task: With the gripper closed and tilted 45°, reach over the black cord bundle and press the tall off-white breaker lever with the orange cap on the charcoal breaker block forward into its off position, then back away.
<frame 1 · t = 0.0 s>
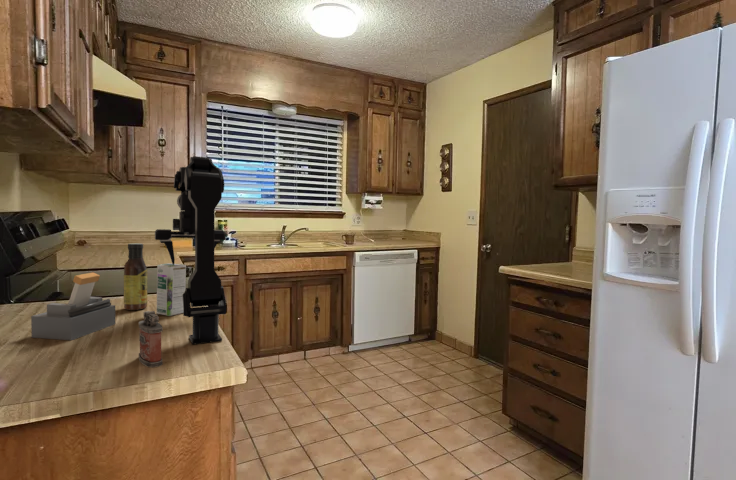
hand: (190, 263, 121), 15 cm above the countertop, tool pointing down, fingers open, 9 cm apart
breaker block: (76, 330, 101), on the countertop
sauce bottle: (135, 309, 124), on the countertop
breaker lever: (81, 292, 100), point 9 cm above the countertop, hinge at -20.0°
syrup box: (171, 313, 120), on the countertop
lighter: (150, 361, 82), on the countertop
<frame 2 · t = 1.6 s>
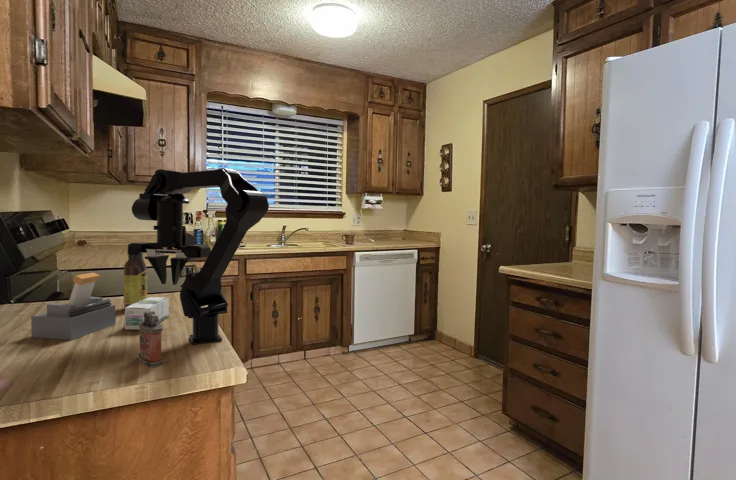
hand: (169, 284, 101), 12 cm above the countertop, tool pointing down, fingers open, 3 cm apart
syrup box: (158, 306, 116), point 3 cm above the countertop
everything else where it was.
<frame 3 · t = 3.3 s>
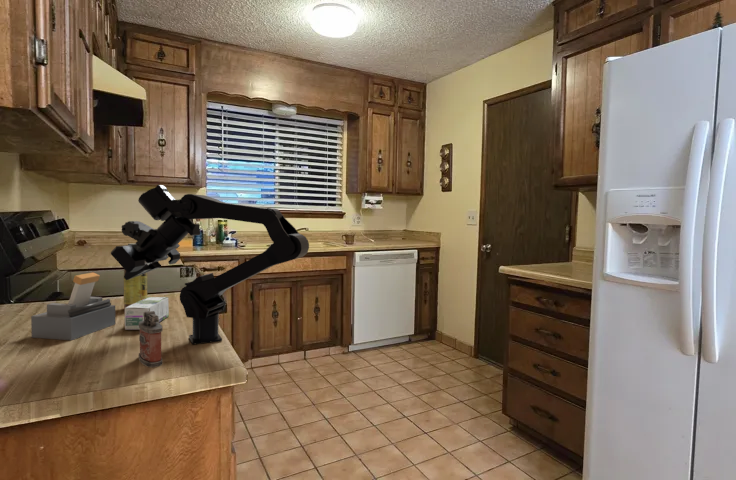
hand: (125, 278, 99), 14 cm above the countertop, tool tilted 45°, fingers closed
nothing on the countertop moved.
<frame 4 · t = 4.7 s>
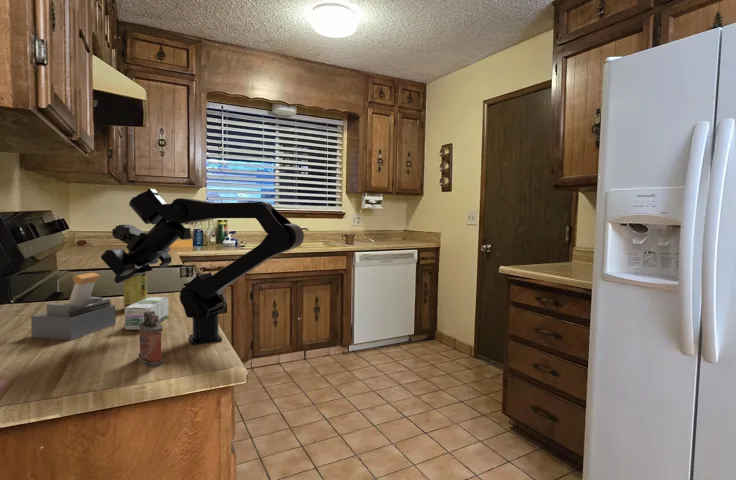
hand: (116, 281, 99), 13 cm above the countertop, tool tilted 45°, fingers closed
nothing on the countertop moved.
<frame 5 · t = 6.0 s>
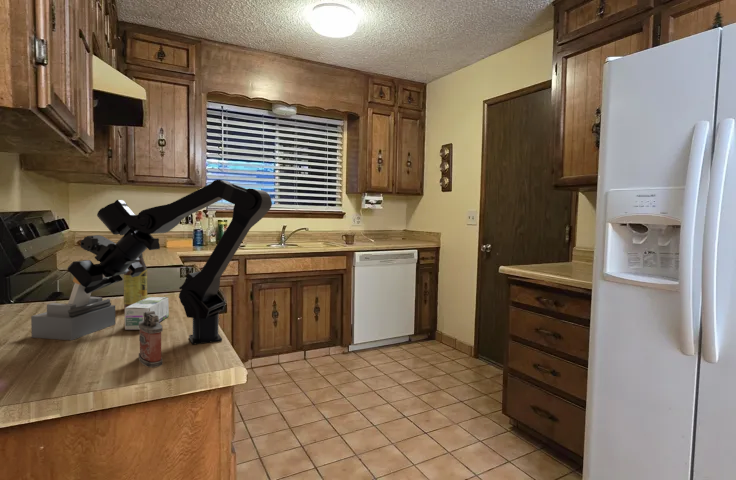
hand: (86, 292, 100), 10 cm above the countertop, tool tilted 45°, fingers closed, pressing on breaker lever
breaker lever: (81, 292, 100), point 9 cm above the countertop, hinge at -19.4°, touching gripper
everything else where it was.
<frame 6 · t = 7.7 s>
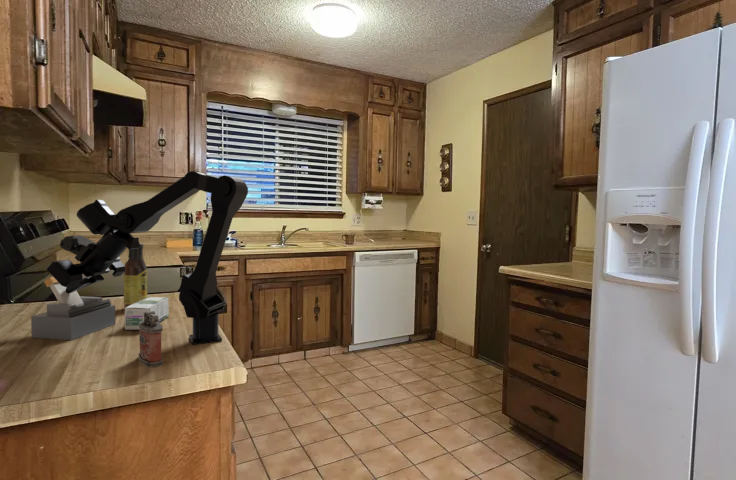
hand: (67, 292, 100), 9 cm above the countertop, tool tilted 45°, fingers closed, pressing on breaker lever
breaker lever: (66, 293, 100), point 9 cm above the countertop, hinge at 32.3°, touching breaker block, gripper
everything else where it was.
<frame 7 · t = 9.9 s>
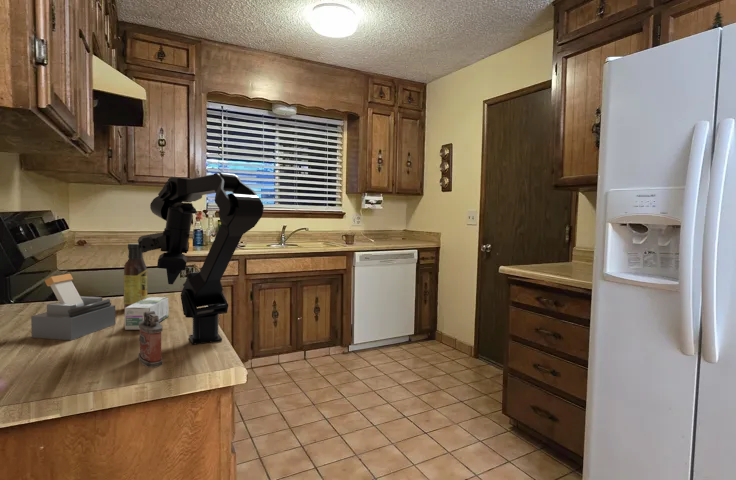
hand: (170, 283, 107), 11 cm above the countertop, tool pointing down, fingers closed
breaker lever: (66, 293, 100), point 9 cm above the countertop, hinge at 30.8°, touching breaker block
everything else where it was.
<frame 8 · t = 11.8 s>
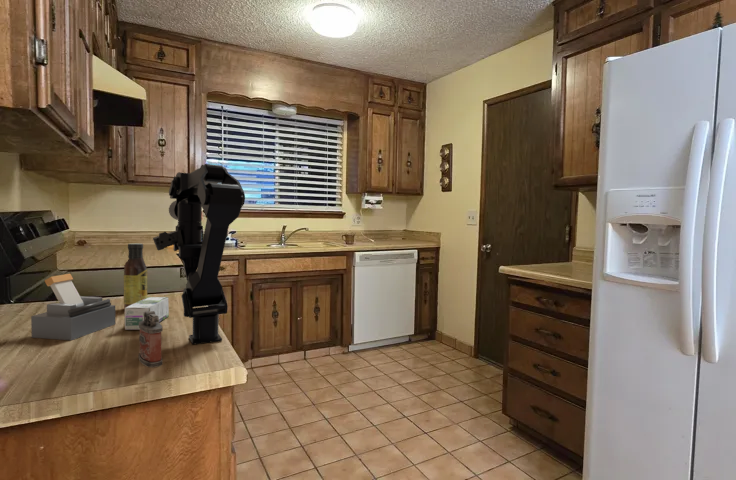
hand: (189, 280, 107), 12 cm above the countertop, tool pointing down, fingers closed
nothing on the countertop moved.
at the end: breaker lever at +31° (first picture: -20°) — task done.
